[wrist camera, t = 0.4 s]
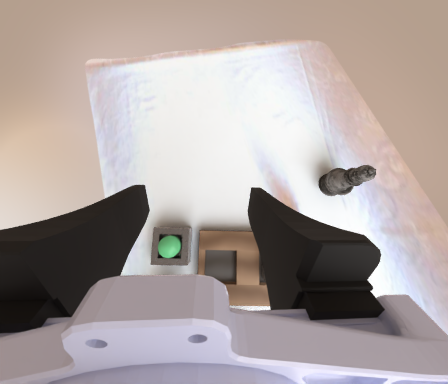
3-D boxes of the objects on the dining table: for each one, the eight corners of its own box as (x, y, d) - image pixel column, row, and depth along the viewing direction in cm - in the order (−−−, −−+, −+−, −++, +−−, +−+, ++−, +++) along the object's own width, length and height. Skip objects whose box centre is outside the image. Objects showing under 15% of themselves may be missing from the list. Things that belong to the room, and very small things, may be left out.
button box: (190, 261, 36) (187, 265, 33) (157, 260, 36) (150, 264, 33) (192, 227, 38) (189, 228, 34) (160, 226, 38) (153, 227, 34)
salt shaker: (320, 169, 40) (361, 148, 29) (344, 176, 40) (395, 158, 28) (315, 193, 40) (355, 181, 28) (340, 200, 39) (391, 191, 28)
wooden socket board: (294, 301, 36) (299, 306, 33) (197, 299, 35) (196, 304, 33) (291, 232, 38) (295, 232, 36) (201, 230, 38) (199, 230, 35)
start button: (181, 255, 35) (178, 258, 32) (162, 254, 35) (157, 257, 32) (182, 235, 36) (179, 236, 33) (163, 234, 36) (158, 236, 33)
